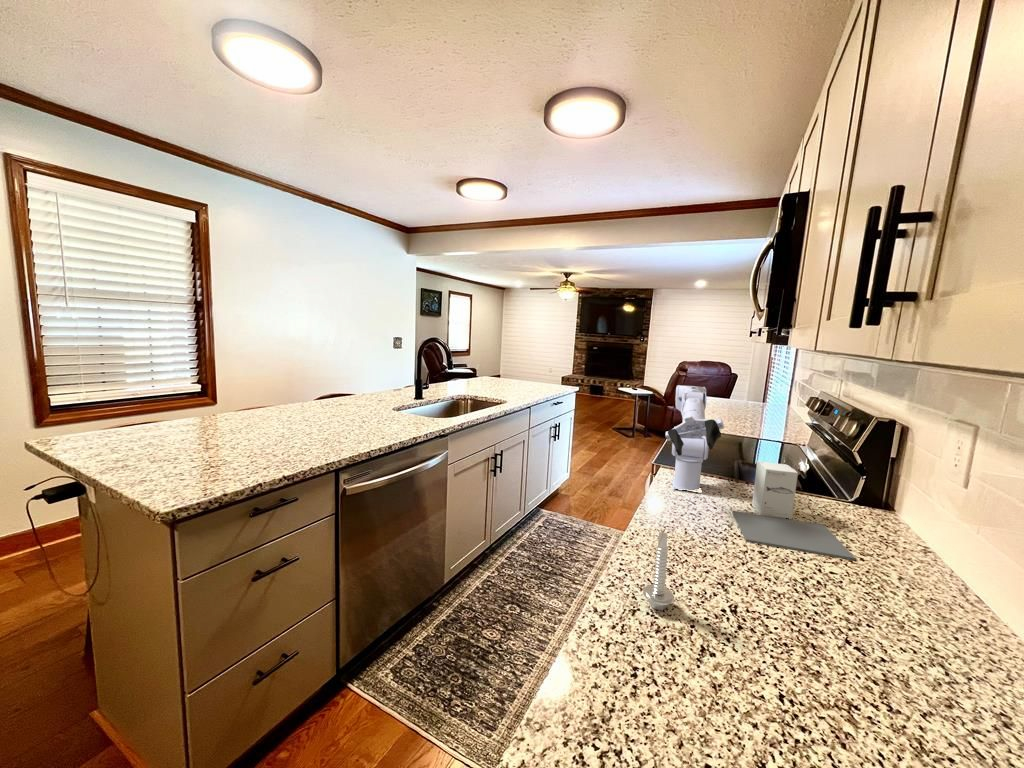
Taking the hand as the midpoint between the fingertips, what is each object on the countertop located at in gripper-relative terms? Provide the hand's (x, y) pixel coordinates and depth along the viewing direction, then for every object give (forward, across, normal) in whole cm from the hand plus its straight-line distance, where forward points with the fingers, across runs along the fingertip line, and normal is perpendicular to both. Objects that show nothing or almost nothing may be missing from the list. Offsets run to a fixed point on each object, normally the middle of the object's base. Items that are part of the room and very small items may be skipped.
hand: (693, 449), depth 99 cm
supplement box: (-3, +10, +27) cm, 29 cm away
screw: (+44, -5, -3) cm, 45 cm away
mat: (+8, +13, +23) cm, 27 cm away
